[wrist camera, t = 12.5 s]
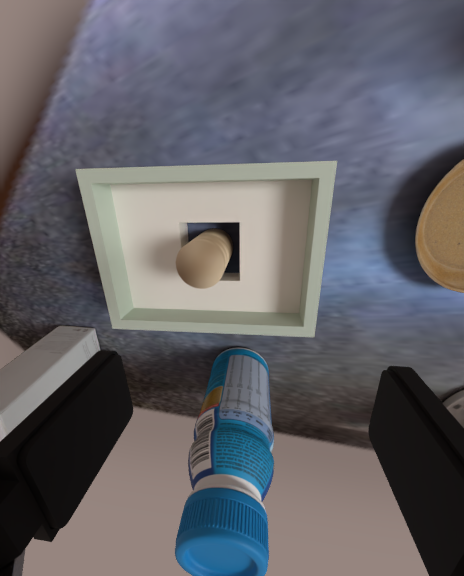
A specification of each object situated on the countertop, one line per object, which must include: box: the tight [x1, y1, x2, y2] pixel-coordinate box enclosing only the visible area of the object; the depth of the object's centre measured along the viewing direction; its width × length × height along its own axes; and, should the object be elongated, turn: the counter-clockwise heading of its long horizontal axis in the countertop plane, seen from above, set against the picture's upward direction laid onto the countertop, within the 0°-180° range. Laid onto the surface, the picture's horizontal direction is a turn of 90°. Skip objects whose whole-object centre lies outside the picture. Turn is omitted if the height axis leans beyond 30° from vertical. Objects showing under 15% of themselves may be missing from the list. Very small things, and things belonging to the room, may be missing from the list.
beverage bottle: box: [175, 347, 274, 576], centre depth 26 cm, size 8×8×20 cm
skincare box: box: [0, 325, 100, 441], centre depth 30 cm, size 8×6×15 cm
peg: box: [176, 228, 233, 289], centre depth 25 cm, size 4×4×8 cm
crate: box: [75, 161, 337, 337], centre depth 26 cm, size 16×22×6 cm
